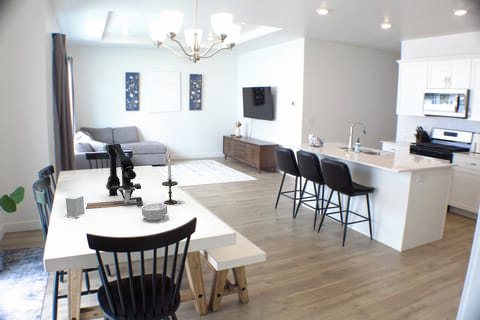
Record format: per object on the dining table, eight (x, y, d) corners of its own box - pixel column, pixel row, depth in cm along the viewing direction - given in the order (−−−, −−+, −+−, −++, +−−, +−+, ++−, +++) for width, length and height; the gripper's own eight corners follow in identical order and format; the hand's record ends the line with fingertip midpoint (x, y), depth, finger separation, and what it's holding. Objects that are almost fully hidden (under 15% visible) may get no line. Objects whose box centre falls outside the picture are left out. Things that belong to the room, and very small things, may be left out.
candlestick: (176, 200, 262) (175, 152, 256) (179, 204, 252) (178, 154, 247) (161, 201, 258) (159, 153, 253) (164, 205, 248) (162, 155, 243)
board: (87, 205, 248) (87, 203, 248) (125, 202, 256) (125, 200, 256) (85, 211, 235) (85, 209, 235) (126, 207, 243) (126, 205, 243)
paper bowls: (137, 218, 222) (136, 205, 221) (158, 213, 233) (158, 201, 231) (150, 224, 211) (150, 211, 210) (172, 218, 222) (172, 206, 221)
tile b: (128, 204, 249) (128, 202, 248) (134, 204, 250) (134, 202, 250) (128, 206, 245) (128, 204, 245) (134, 205, 246) (134, 203, 246)
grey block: (123, 200, 253) (125, 187, 253) (128, 201, 254) (129, 188, 254) (124, 204, 244) (125, 190, 243) (128, 204, 245) (130, 191, 244)
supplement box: (85, 215, 227) (83, 195, 225) (76, 219, 220) (74, 198, 218) (75, 214, 230) (74, 194, 227) (66, 217, 223) (65, 197, 221)
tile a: (128, 202, 254) (128, 200, 254) (134, 202, 255) (134, 199, 255) (128, 204, 250) (128, 201, 250) (134, 203, 252) (134, 201, 251)
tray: (126, 202, 256) (125, 198, 256) (141, 201, 260) (141, 196, 259) (126, 207, 243) (126, 203, 243) (143, 206, 246) (142, 202, 246)
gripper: (111, 180, 236) (112, 203, 239) (141, 178, 242) (141, 201, 245) (111, 176, 246) (112, 198, 249) (140, 175, 252) (140, 197, 255)
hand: (127, 199), depth 249 cm, fingers open, 4 cm apart
